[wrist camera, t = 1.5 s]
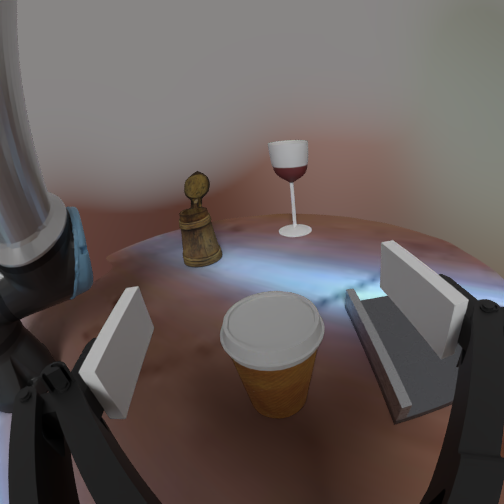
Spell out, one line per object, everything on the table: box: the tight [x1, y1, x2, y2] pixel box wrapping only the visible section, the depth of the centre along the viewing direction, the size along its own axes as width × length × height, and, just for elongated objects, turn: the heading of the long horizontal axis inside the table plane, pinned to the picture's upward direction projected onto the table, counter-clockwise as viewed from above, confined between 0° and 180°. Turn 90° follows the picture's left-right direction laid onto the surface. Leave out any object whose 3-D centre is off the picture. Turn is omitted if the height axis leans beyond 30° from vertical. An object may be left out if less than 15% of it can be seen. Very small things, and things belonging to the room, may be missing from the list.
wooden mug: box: [179, 171, 222, 267], centre depth 65 cm, size 9×14×18 cm, turn 177°
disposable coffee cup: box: [220, 291, 324, 418], centre depth 29 cm, size 10×10×12 cm
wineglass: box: [268, 140, 312, 237], centre depth 70 cm, size 9×10×22 cm
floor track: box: [345, 289, 462, 425], centre depth 34 cm, size 22×16×3 cm
